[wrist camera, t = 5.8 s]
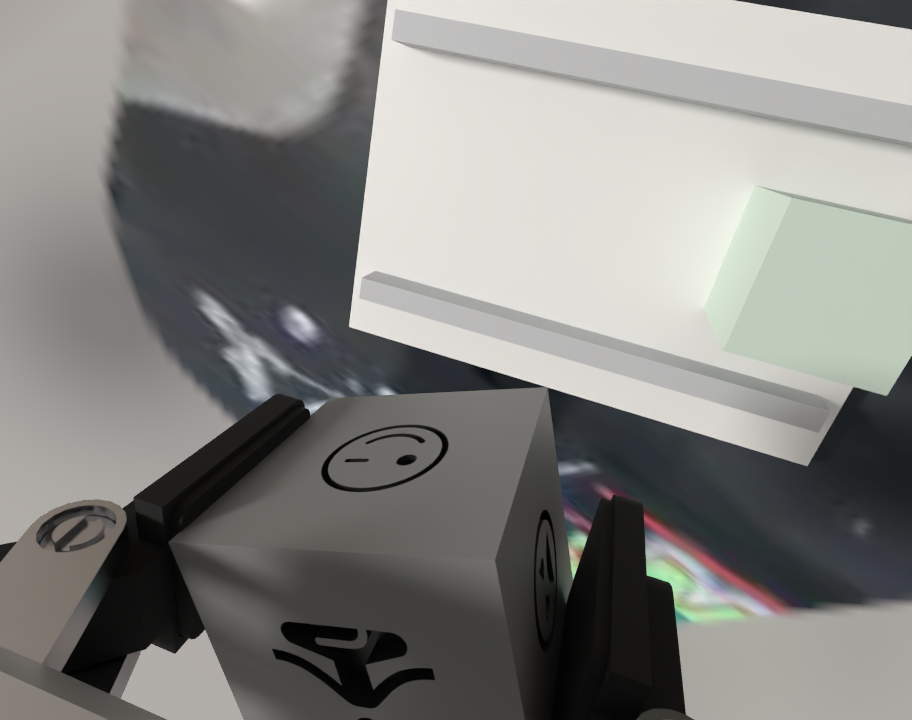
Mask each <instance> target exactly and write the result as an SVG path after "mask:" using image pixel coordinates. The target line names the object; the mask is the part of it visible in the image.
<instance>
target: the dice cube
mask: <svg viewBox="0 0 912 720" xmlns="http://www.w3.org/2000/svg"><path fill="white" fill-rule="evenodd" d="M168 543H169V545H170V548H171V550H172V552H173V555H174V557H175V559H176V562H177V564H178V566H179V569H180V571H181V573H182V576H183V578H184V580H185V583H186V585H187V587H188V590H189V592H190V594H191V597H192V599H193V602H194V604H195V606H196V609H197V611H198V613H199V616H200V618H201V620H202V623H203V625H204V627H205V630H206V632H207V634H208V637H209V639H210V641H211V644H212V646H213V648H214V650H215V653H216V655H217V657H218V660H219V662H220V664H221V667H222V669H223V672H224V674H225V676H226V679H227V681H228V683H229V686H230V688H231V690H232V692H233V695H234V697H235V700H236V702H237V704H238V707H239V709H240V712H241V714H242V716H243V719H244V720H552V713H553V705H554V697H555V689H556V681H557V673H558V665H559V657H560V649H561V641H562V633H563V625H564V617H565V609H566V603H567V599H568V595H569V592H570V589H571V586H572V583H573V579H572V571H571V563H570V556H569V548H568V540H567V533H566V525H565V518H564V510H563V502H562V495H561V487H560V480H559V472H558V464H557V457H556V449H555V441H554V434H553V426H552V419H551V411H550V403H549V396H548V388H547V387H544V388H524V389H504V390H484V391H464V392H444V393H424V394H404V395H383V396H363V397H343V398H330V399H329V400H328V401H327V402H326V403H325V404H324V405H323V406H321V407H320V408H319V409H318V410H317V411H316V412H315V413H314V414H312V415H311V416H310V418H309V419H308V420H307V421H306V422H305V423H304V424H303V425H302V426H300V427H299V428H298V429H297V430H296V431H295V432H294V433H293V434H291V435H290V436H289V437H288V438H287V439H286V440H285V441H283V442H282V443H281V444H280V445H279V446H278V447H277V448H276V449H274V450H273V451H272V452H271V453H270V454H269V455H268V456H267V457H265V458H264V459H263V460H262V461H261V462H260V463H259V464H257V465H256V466H255V467H254V468H253V469H252V470H251V471H250V472H248V473H247V474H246V475H245V476H244V477H243V478H242V479H241V480H239V481H238V482H237V483H236V484H235V485H234V486H233V487H232V488H230V489H229V490H228V491H227V492H226V493H225V494H224V495H222V496H221V497H220V498H219V499H218V500H217V501H216V502H215V503H213V504H212V505H211V506H210V507H209V508H208V509H207V510H206V511H204V512H203V513H202V514H201V515H200V516H199V517H198V518H196V519H195V520H194V521H193V522H192V523H191V524H190V525H189V526H187V527H186V528H185V529H184V530H183V531H182V532H179V533H178V534H177V535H176V536H175V537H174V538H173V539H171V540H170V541H169V542H168Z"/></svg>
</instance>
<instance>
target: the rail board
mask: <svg viewBox="0 0 912 720" xmlns="http://www.w3.org/2000/svg"><path fill="white" fill-rule="evenodd" d="M349 327H351V328H354V329H358V330H361V331H364V332H368V333H371V334H374V335H377V336H381V337H384V338H387V339H391V340H394V341H397V342H400V343H404V344H407V345H410V346H414V347H417V348H420V349H423V350H427V351H430V352H433V353H437V354H440V355H443V356H446V357H450V358H453V359H456V360H460V361H463V362H466V363H469V364H473V365H476V366H479V367H483V368H486V369H489V370H492V371H496V372H499V373H502V374H506V375H509V376H512V377H515V378H519V379H522V380H525V381H529V382H532V383H535V384H538V385H542V386H545V387H548V388H552V389H555V390H558V391H561V392H565V393H568V394H571V395H575V396H578V397H581V398H584V399H588V400H591V401H594V402H598V403H601V404H604V405H607V406H611V407H614V408H617V409H621V410H624V411H627V412H630V413H634V414H637V415H640V416H644V417H647V418H650V419H653V420H657V421H660V422H663V423H667V424H670V425H673V426H676V427H680V428H683V429H686V430H690V431H693V432H696V433H699V434H703V435H706V436H709V437H713V438H716V439H719V440H722V441H726V442H729V443H732V444H736V445H739V446H742V447H745V448H749V449H752V450H755V451H759V452H762V453H765V454H768V455H772V456H775V457H778V458H782V459H785V460H788V461H791V462H795V463H798V464H801V465H805V466H808V464H809V463H810V461H811V459H812V457H813V456H814V454H815V452H816V451H817V449H818V447H819V445H820V444H821V442H822V440H823V438H824V437H825V435H826V433H827V432H828V430H829V428H830V426H831V425H832V423H833V421H834V419H835V418H836V416H837V414H838V413H839V411H840V409H841V407H842V406H843V404H844V402H845V401H846V399H847V397H848V395H849V394H850V392H851V390H852V388H853V387H856V388H860V389H863V390H867V391H871V392H874V393H878V394H882V395H885V396H887V395H888V393H889V392H890V390H891V388H892V387H893V385H894V383H895V382H896V380H897V379H898V377H899V375H900V374H901V372H902V370H903V369H904V367H905V366H906V364H907V362H908V361H909V359H910V357H911V356H912V30H910V29H904V28H898V27H892V26H886V25H880V24H874V23H867V22H861V21H855V20H849V19H843V18H837V17H831V16H825V15H819V14H813V13H807V12H801V11H794V10H788V9H782V8H776V7H770V6H764V5H758V4H752V3H746V2H740V1H734V0H388V3H387V11H386V20H385V28H384V37H383V45H382V54H381V62H380V70H379V79H378V87H377V96H376V104H375V113H374V121H373V129H372V138H371V146H370V155H369V163H368V172H367V180H366V188H365V197H364V205H363V214H362V222H361V231H360V239H359V247H358V256H357V264H356V273H355V281H354V290H353V298H352V306H351V315H350V323H349Z"/></svg>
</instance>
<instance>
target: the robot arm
mask: <svg viewBox="0 0 912 720" xmlns="http://www.w3.org/2000/svg"><path fill="white" fill-rule="evenodd" d="M309 418H310V412H309V410H308V409H306V408H305V406H304V403H303V401H301V400H299V399H295V398H292V397H289V396H285V395H282V394H276V395H274V396H273V397H271V398H270V399H268V400H267V401H266V402H264V403H263V404H262V405H260V406H259V407H257V408H256V409H255V410H253V411H252V412H250V413H249V414H248V415H246V416H245V417H244V418H242V419H241V420H239V421H238V422H237V423H235V424H234V425H233V426H231V427H230V428H228V429H227V430H226V431H224V432H223V433H222V434H220V435H219V436H217V437H216V438H215V439H213V440H212V441H211V442H209V443H208V444H206V445H205V446H204V447H202V448H201V449H199V450H198V451H197V452H195V453H194V454H193V455H191V456H190V457H188V458H187V459H186V460H184V461H183V462H182V463H180V464H179V465H177V466H176V467H175V468H173V469H172V470H171V471H169V472H168V473H166V474H165V475H164V476H162V477H161V478H159V479H158V480H157V481H155V482H154V483H153V484H151V485H150V486H148V487H147V488H146V489H144V490H143V491H142V492H140V493H139V494H137V495H136V496H135V497H134V500H133V501H132V502H131V503H129V504H128V505H127V506H125V507H124V508H123V509H122V508H121V507H120V506H119V505H117V504H115V503H113V502H111V501H105V500H83V501H78V502H73V503H68V504H66V505H63V506H60V507H58V508H55V509H53V510H51V511H49V512H48V513H46V514H44V515H43V516H41V517H40V518H39V519H37V521H35V522H34V523H33V524H32V525H31V526H30V527H29V529H28V530H27V531H26V532H25V533H24V534H23V536H22V537H21V538H20V539H19V541H18V542H13V543H7V544H3V545H0V720H166V719H164V718H162V717H160V716H157V715H155V714H153V713H151V712H148V711H146V710H144V709H142V708H139V707H137V706H135V705H133V704H131V703H128V702H126V701H124V700H122V699H121V696H122V694H123V692H124V690H125V687H126V685H127V683H128V680H129V678H130V676H131V674H132V671H133V669H134V667H135V664H136V662H137V660H138V658H139V655H140V652H141V650H144V649H146V648H147V647H148V646H149V645H150V644H154V645H156V646H158V647H160V648H163V649H165V650H167V651H170V652H172V653H176V652H177V651H178V650H179V649H180V648H181V646H182V645H183V644H184V643H185V642H186V641H187V639H188V638H190V639H195V638H197V637H198V636H199V635H200V634H201V633H202V632H203V631H204V630H205V627H204V625H203V623H202V620H201V618H200V616H199V613H198V611H197V609H196V606H195V604H194V602H193V599H192V597H191V594H190V592H189V590H188V587H187V585H186V583H185V580H184V578H183V576H182V573H181V571H180V569H179V566H178V564H177V562H176V559H175V557H174V555H173V552H172V550H171V548H170V545H169V543H168V542H169V541H170V540H171V539H173V538H174V537H175V536H176V535H177V534H178V533H179V532H182V531H183V530H184V529H185V528H186V527H187V526H189V525H190V524H191V523H192V522H193V521H194V520H195V519H196V518H198V517H199V516H200V515H201V514H202V513H203V512H204V511H206V510H207V509H208V508H209V507H210V506H211V505H212V504H213V503H215V502H216V501H217V500H218V499H219V498H220V497H221V496H222V495H224V494H225V493H226V492H227V491H228V490H229V489H230V488H232V487H233V486H234V485H235V484H236V483H237V482H238V481H239V480H241V479H242V478H243V477H244V476H245V475H246V474H247V473H248V472H250V471H251V470H252V469H253V468H254V467H255V466H256V465H257V464H259V463H260V462H261V461H262V460H263V459H264V458H265V457H267V456H268V455H269V454H270V453H271V452H272V451H273V450H274V449H276V448H277V447H278V446H279V445H280V444H281V443H282V442H283V441H285V440H286V439H287V438H288V437H289V436H290V435H291V434H293V433H294V432H295V431H296V430H297V429H298V428H299V427H300V426H302V425H303V424H304V423H305V422H306V421H307V420H308V419H309ZM552 720H693V719H692V718H690V717H688V716H687V715H686V713H685V703H684V693H683V684H682V675H681V665H680V656H679V646H678V637H677V627H676V617H675V608H674V598H673V591H672V586H671V585H670V583H668V582H665V581H662V580H659V579H656V578H653V577H650V576H647V575H646V555H645V534H644V513H643V504H642V503H641V502H638V501H634V500H631V499H628V498H624V497H621V496H618V495H615V494H614V495H613V497H612V499H611V501H609V500H606V499H603V498H602V499H601V501H600V503H599V506H598V509H597V512H596V515H595V518H594V521H593V524H592V527H591V530H590V533H589V536H588V539H587V542H586V545H585V548H584V550H583V553H582V556H581V559H580V562H579V565H578V568H577V571H576V574H575V577H574V580H573V583H572V586H571V589H570V592H569V595H568V599H567V603H566V609H565V617H564V625H563V633H562V641H561V649H560V657H559V665H558V673H557V681H556V689H555V697H554V705H553V713H552Z"/></svg>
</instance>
